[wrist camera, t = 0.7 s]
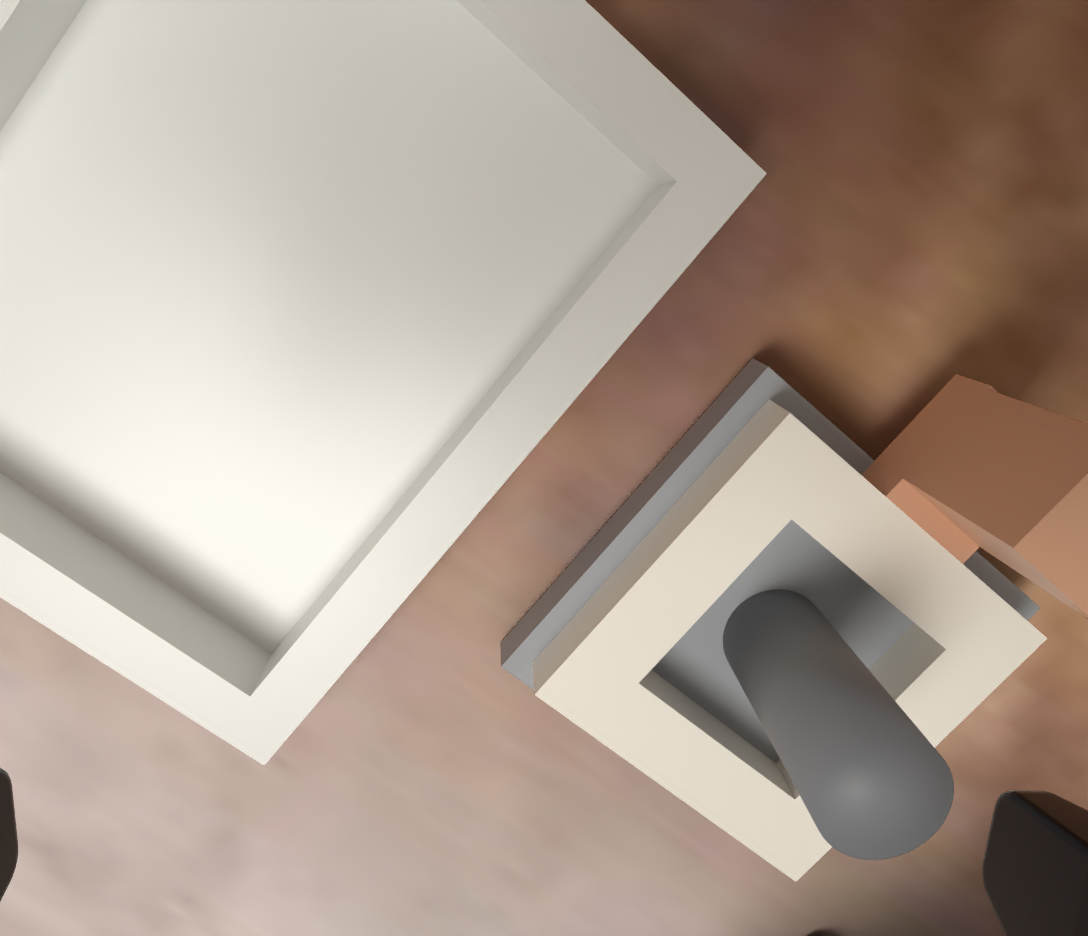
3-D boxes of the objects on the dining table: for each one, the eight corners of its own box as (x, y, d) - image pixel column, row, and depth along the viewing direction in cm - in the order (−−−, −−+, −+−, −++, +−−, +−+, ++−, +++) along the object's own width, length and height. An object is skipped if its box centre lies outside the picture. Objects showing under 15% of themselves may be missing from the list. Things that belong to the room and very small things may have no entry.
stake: (1012, 587, 22) (1251, 757, 15) (763, 833, 24) (878, 1089, 17) (752, 358, 20) (891, 432, 13) (500, 642, 22) (505, 843, 15)
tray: (731, 179, 19) (766, 173, 17) (289, 705, 22) (264, 765, 19) (217, -305, 16) (169, -397, 14) (-217, 370, 19) (-320, 393, 16)
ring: (1107, 516, 20) (1319, 619, 15) (777, 841, 22) (864, 1032, 17) (867, 289, 19) (1013, 317, 13) (531, 663, 20) (545, 815, 15)
